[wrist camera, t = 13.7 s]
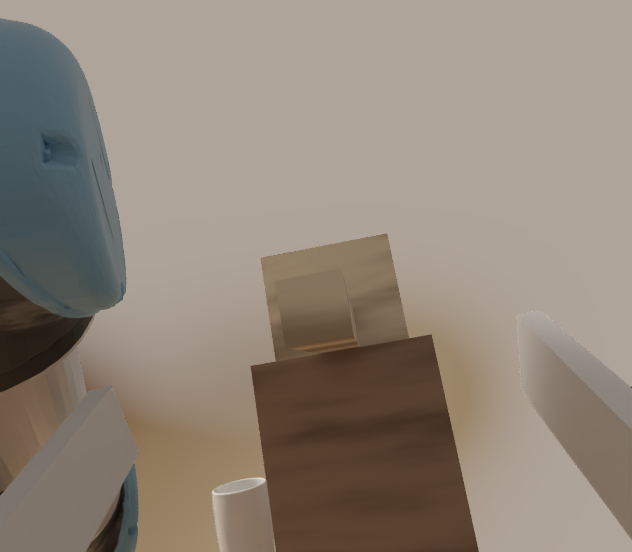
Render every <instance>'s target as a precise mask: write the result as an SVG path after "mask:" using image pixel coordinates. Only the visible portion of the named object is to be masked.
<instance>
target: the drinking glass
mask: <svg viewBox="0 0 632 552" xmlns="http://www.w3.org/2000/svg"><path fill="white" fill-rule="evenodd" d="M212 503H213V514H214V523H215V530H216V535H217V541H218V546H219V551H220V552H274V536H273V525H272V518H271V511H270V503H269V496H268V489H267V481H266V479H264V478H248V479H242V480H237V481H233V482H229V483H226V484H223V485H221V486H219V487H217V488H215V489H214V490H213V491H212Z"/></svg>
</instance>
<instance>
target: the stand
mask: <svg viewBox="0 0 632 552" xmlns="http://www.w3.org/2000/svg"><path fill="white" fill-rule="evenodd" d="M251 371H252V379H253V386H254V394H255V401H256V408H257V415H258V423H259V430H260V437H261V445H262V452H263V459H264V467H265V473H266V481H267V489H268V496H269V503H270V511H271V518H272V525H273V533H274V540H275V546H276V552H479V551H478V547H477V541H476V537H475V532H474V528H473V523H472V518H471V514H470V509H469V505H468V500H467V495H466V491H465V486H464V482H463V477H462V472H461V468H460V463H459V459H458V454H457V450H456V445H455V440H454V436H453V431H452V427H451V422H450V417H449V413H448V409H447V404H446V400H445V394H444V390H443V386H442V381H441V376H440V371H439V367H438V362H437V358H436V353H435V348H434V344H433V339H432V335H426V336H421V337H415V338H409V339H403V340H397V341H392V342H386V343H380V344H374V345H369V346H363V347H357V348H351V349H346V350H340V351H334V352H328V353H323V354H317V355H311V356H305V357H300V358H294V359H288V360H282V361H277V362H271V363H265V364H260V365H254V366H251Z"/></svg>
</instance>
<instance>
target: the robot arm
mask: <svg viewBox="0 0 632 552" xmlns="http://www.w3.org/2000/svg"><path fill="white" fill-rule="evenodd" d="M125 292H126V267H125V258H124V250H123V242H122V234H121V228H120V221H119V215H118V211H117V207H116V201H115V196H114V192H113V188H112V180H111V174H110V168H109V163H108V158H107V153H106V149H105V145H104V141H103V136H102V132H101V128H100V124H99V120H98V116H97V112H96V109H95V106H94V102H93V99H92V95H91V92H90V89H89V86H88V83H87V80H86V78H85V75H84V73H83V71H82V69H81V67H80V65H79V63H78V61H77V60H76V58H75V57H74V55H73V54H72V52H71V51H70V50H69V49H68V48H67V47H66V46H65V45H64V44H63V43H62V42H61V41H60V40H59V39H57V38H56V37H55V36H53V35H52V34H50V33H49V32H47V31H45V30H43V29H41V28H39V27H36V26H34V25H31V24H28V23H23V22H18V21H12V20H6V19H0V552H134V551H135V548H136V544H137V535H138V528H137V522H138V489H137V478H136V470H135V464H134V462H135V460H136V458H137V457H138V455H139V453H138V450H137V448H136V445H135V442H134V440H133V437H132V435H131V432H130V430H129V427H128V425H127V422H126V420H125V417H124V415H123V412H122V410H121V407H120V405H119V402H118V399H117V397H116V394H115V392H114V389H113V387H112V386H110V387H105V388H99V389H94V390H90V391H89V392H88V393H86V388H85V383H84V378H83V373H82V367H81V362H80V357H79V352H78V347H77V345H78V344H79V343H80V342H81V340H82V339H83V337H84V336H85V334H86V333H87V331H88V330H89V328H90V325H91V324H92V322H93V320H94V316H95V314H96V313H98V312H99V311H100V310H104V309H109V308H111V307H113V306H115V305H116V304H117V303H118V302H120V301H121V300H122V299H123V296H124V294H125ZM516 323H517V337H518V338H517V339H518V354H519V368H520V383H521V391H522V393H523V394H524V395H525V397H526V398H527V399H528V401H529V402H530V404H531V405H532V406H533V407H534V409H535V410H536V412H537V413H538V414H539V416H540V417H541V418H542V420H543V421H544V422H545V424H546V425H547V426H548V428H549V429H550V430H551V432H552V433H553V434H554V436H555V437H556V438H557V440H558V441H559V442H560V444H561V445H562V446H563V448H564V449H565V450H566V452H567V453H568V454H569V456H570V457H571V459H572V460H573V461H574V462H575V464H576V465H577V467H578V468H579V469H580V471H581V472H582V473H583V475H584V476H585V477H586V478H587V480H588V481H589V483H590V484H591V485H592V487H593V488H594V490H595V491H596V492H597V494H598V495H599V496H600V498H601V499H602V500H603V502H604V503H605V504H606V505H607V507H608V508H609V510H610V511H611V512H612V514H613V515H614V516H615V517H616V519H617V520H618V522H619V523H620V524H621V526H622V527H623V528H624V530H625V531H626V532H627V534H628V535H629V537H630V538H631V539H632V387H630V386H629V385H627V384H626V383H625V382H624V381H623V380H622V379H620V378H619V377H618V376H617V375H616V374H615V373H614V372H612V371H611V370H610V369H608V368H607V366H605V365H604V364H603V363H602V362H601V361H599V360H598V359H597V358H596V357H594V355H593V354H591V353H590V352H589V351H588V350H587V349H586V348H584V347H583V346H582V345H581V344H580V343H579V342H577V341H576V340H575V339H574V338H573V337H572V336H570V335H569V334H568V333H567V332H566V331H565V330H563V329H562V328H561V327H560V326H559V325H558V324H556V323H555V322H554V321H553V320H552V319H551V318H549V317H548V316H547V315H546V314H545V313H544V312H542V311H534V312H529V313H524V314H517V315H516Z"/></svg>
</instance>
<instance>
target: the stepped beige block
mask: <svg viewBox="0 0 632 552" xmlns="http://www.w3.org/2000/svg"><path fill="white" fill-rule="evenodd" d="M261 264H262V270H263V277H264V284H265V291H266V298H267V305H268V311H269V318H270V325H271V331H272V338H273V345H274V352H275V359H276V362H277V361H282V360H288V359H294V358H300V357H305V356H311V355H317V354H323V353H328V352H334V351H340V350H346V349H351V348H357V347H363V346H369V345H374V344H380V343H386V342H392V341H397V340H403V339H409V337H408V332H407V327H406V323H405V317H404V313H403V308H402V303H401V298H400V293H399V289H398V284H397V279H396V274H395V269H394V265H393V260H392V255H391V250H390V245H389V240H388V236H387V234H383V235H377V236H372V237H367V238H362V239H356V240H351V241H346V242H341V243H335V244H331V245H325V246H320V247H315V248H310V249H305V250H300V251H294V252H289V253H283V254H278V255H273V256H268V257H263V258H261Z"/></svg>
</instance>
